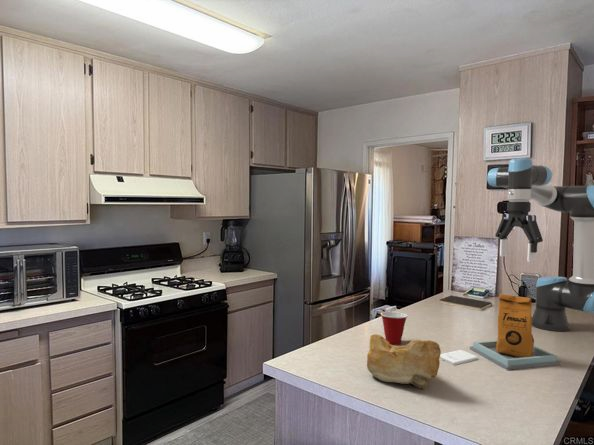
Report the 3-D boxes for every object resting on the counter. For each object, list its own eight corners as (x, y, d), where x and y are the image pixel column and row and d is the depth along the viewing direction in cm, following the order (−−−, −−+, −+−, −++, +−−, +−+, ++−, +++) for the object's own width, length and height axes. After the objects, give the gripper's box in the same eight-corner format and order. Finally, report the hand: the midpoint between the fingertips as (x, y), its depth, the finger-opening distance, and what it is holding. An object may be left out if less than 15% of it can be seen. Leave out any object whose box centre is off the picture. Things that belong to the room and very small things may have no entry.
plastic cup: (409, 340, 168) (410, 311, 168) (404, 348, 159) (405, 318, 158) (383, 336, 173) (383, 308, 172) (377, 344, 163) (377, 314, 163)
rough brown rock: (451, 382, 132) (452, 335, 132) (435, 397, 118) (436, 345, 119) (384, 366, 145) (385, 324, 146) (363, 379, 132) (364, 332, 132)
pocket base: (517, 345, 164) (518, 337, 164) (560, 364, 145) (560, 356, 144) (469, 349, 159) (470, 341, 159) (507, 370, 140) (507, 361, 139)
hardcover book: (480, 311, 215) (480, 307, 215) (439, 303, 231) (439, 299, 231) (491, 306, 226) (491, 302, 226) (451, 298, 242) (451, 295, 242)
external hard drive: (478, 361, 149) (453, 366, 143) (460, 353, 156) (435, 358, 151) (478, 356, 149) (453, 362, 143) (460, 349, 156) (435, 354, 151)
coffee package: (531, 362, 144) (533, 301, 142) (493, 354, 151) (495, 295, 150) (535, 354, 152) (538, 295, 150) (499, 346, 159) (501, 291, 158)
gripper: (486, 200, 160) (485, 254, 161) (537, 201, 136) (535, 264, 137) (503, 200, 162) (501, 254, 163) (556, 201, 138) (553, 263, 139)
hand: (516, 258), depth 150 cm, fingers open, 13 cm apart
